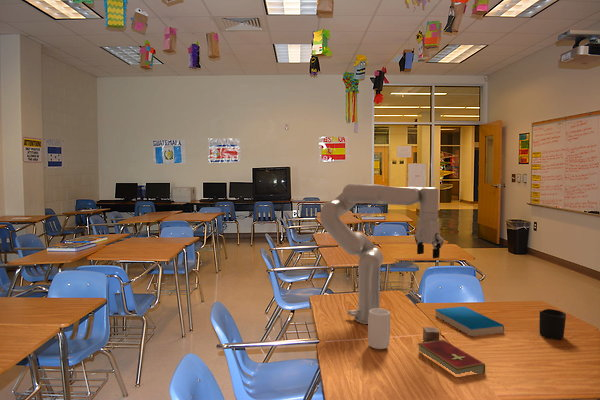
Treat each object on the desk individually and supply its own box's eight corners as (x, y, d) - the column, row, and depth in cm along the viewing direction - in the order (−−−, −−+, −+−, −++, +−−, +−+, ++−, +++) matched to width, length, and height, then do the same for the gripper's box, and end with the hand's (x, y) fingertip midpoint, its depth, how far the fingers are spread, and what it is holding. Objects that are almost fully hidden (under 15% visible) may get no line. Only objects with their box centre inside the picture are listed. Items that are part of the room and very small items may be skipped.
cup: (373, 353, 154) (374, 316, 153) (363, 344, 162) (364, 308, 161) (393, 351, 156) (394, 314, 155) (383, 342, 165) (384, 307, 164)
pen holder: (568, 341, 168) (570, 317, 167) (543, 339, 170) (544, 315, 169) (559, 332, 177) (560, 309, 176) (535, 330, 179) (536, 307, 178)
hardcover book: (443, 349, 160) (443, 338, 159) (485, 374, 140) (485, 362, 140) (417, 353, 156) (417, 342, 155) (456, 380, 136) (457, 368, 136)
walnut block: (425, 347, 161) (426, 331, 160) (422, 341, 166) (423, 327, 165) (438, 347, 160) (439, 332, 160) (435, 342, 165) (436, 327, 165)
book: (471, 328, 171) (434, 308, 194) (471, 338, 171) (434, 317, 195) (505, 324, 176) (465, 305, 200) (504, 334, 176) (464, 314, 200)
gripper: (408, 214, 183) (408, 253, 184) (436, 218, 167) (435, 260, 168) (422, 214, 186) (421, 251, 187) (450, 217, 170) (449, 258, 172)
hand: (428, 255), depth 178 cm, fingers open, 9 cm apart
